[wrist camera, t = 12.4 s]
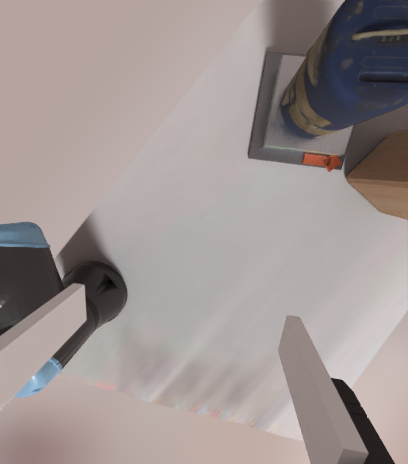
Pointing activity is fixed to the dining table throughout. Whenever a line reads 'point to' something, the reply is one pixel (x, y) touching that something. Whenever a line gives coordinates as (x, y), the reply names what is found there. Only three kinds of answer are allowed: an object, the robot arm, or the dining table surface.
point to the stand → (278, 134)
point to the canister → (351, 70)
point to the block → (385, 176)
